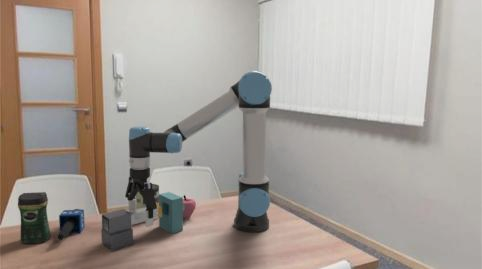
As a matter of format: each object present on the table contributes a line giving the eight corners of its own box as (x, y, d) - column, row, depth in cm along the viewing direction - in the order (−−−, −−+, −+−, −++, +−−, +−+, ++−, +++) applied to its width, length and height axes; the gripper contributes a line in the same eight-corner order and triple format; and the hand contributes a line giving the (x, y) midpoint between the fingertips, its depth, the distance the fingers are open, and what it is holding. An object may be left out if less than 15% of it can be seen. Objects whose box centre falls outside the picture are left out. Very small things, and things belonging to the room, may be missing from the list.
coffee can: (163, 214, 168) (162, 184, 166) (153, 222, 158) (153, 190, 156) (142, 212, 170) (142, 182, 168) (131, 220, 160) (130, 188, 158)
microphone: (48, 227, 131) (68, 204, 156) (49, 247, 132) (69, 222, 157) (71, 226, 132) (87, 204, 157) (72, 246, 134) (88, 221, 158)
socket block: (182, 230, 150) (182, 197, 148) (172, 233, 146) (172, 200, 144) (169, 223, 157) (169, 191, 155) (159, 226, 153) (158, 194, 151)
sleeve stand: (133, 244, 136) (132, 213, 134) (111, 251, 130) (110, 219, 128) (123, 238, 141) (122, 208, 140) (101, 244, 135) (100, 213, 134)
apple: (170, 218, 162) (170, 196, 161) (183, 212, 170) (183, 192, 168) (187, 223, 158) (187, 200, 156) (199, 217, 165) (199, 195, 163)
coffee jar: (52, 235, 143) (50, 189, 140) (45, 243, 135) (43, 195, 133) (26, 236, 141) (22, 190, 139) (17, 245, 133) (13, 196, 131)
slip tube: (161, 216, 145) (161, 207, 145) (108, 231, 130) (107, 220, 130) (156, 214, 148) (156, 204, 148) (103, 228, 133) (102, 217, 133)
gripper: (115, 163, 145) (117, 214, 148) (147, 175, 127) (148, 233, 130) (133, 160, 150) (134, 210, 153) (166, 172, 132) (166, 227, 135)
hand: (140, 220), depth 141 cm, fingers open, 13 cm apart
